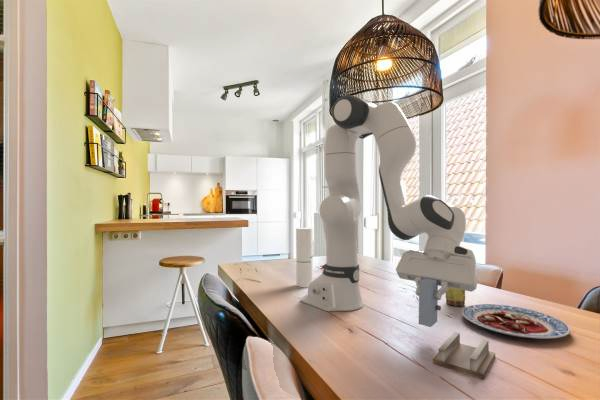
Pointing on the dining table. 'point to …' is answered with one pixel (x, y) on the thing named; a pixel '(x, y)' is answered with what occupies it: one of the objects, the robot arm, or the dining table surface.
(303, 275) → the cylindrical container
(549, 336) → the ceramic plate
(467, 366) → the floor track
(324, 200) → the robot arm
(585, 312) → the dining table surface
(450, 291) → the sauce bottle
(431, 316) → the upright grey pillar
